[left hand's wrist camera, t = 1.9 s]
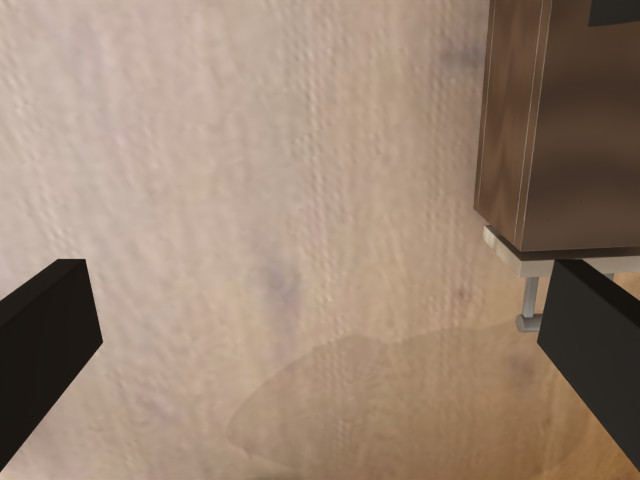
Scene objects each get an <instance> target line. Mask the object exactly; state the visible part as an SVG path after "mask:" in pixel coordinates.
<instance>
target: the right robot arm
mask: <svg viewBox="0 0 640 480" xmlns="http://www.w3.org/2000/svg"><path fill="white" fill-rule="evenodd" d="M637 21H640V0H592V3H591V9H590V16H589V22H588V27H593V26H609V25H616V24H623V23H630V22H637Z"/></svg>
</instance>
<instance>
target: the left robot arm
mask: <svg viewBox="0 0 640 480" xmlns="http://www.w3.org/2000/svg"><path fill="white" fill-rule="evenodd" d="M102 343H103V339H102V335H101V330H100V325H99V321H98V316H97V311H96V307H95V302H94V297H93V293H92V288H91V283H90V279H89V274H88V269H87V265H86V260H85V259H57V260H56V261H55V262H53V263H52V264H50V265H49V266H48V267H46V268H45V269H44V270H42V271H41V272H39V273H38V274H37V275H35V276H34V277H33V278H31V279H30V280H28V281H27V282H26V283H24V284H23V285H22V286H20V287H19V288H17V289H16V290H15V291H13V292H12V293H11V294H9V295H8V296H6V297H5V298H4V299H2V300H1V301H0V472H1V471H2V470H3V468H4V467H5V466H6V464H7V463H8V462H9V461H10V459H11V458H12V457H13V456H14V454H15V453H16V452H17V451H18V449H19V448H20V447H21V446H22V444H23V443H24V442H25V440H26V439H27V438H28V437H29V435H30V434H31V433H32V432H33V430H34V429H35V428H36V427H37V425H38V424H39V423H40V422H41V420H42V419H43V418H44V416H45V415H46V414H47V413H48V411H49V410H50V409H51V408H52V406H53V405H54V404H55V403H56V401H57V400H58V399H59V398H60V396H61V395H62V394H63V392H64V391H65V390H66V389H67V387H68V386H69V385H70V384H71V382H72V381H73V380H74V379H75V377H76V376H77V375H78V374H79V372H80V371H81V370H82V368H83V367H84V366H85V365H86V363H87V362H88V361H89V360H90V358H91V357H92V356H93V355H94V353H95V352H96V351H97V350H98V348H99V347H100V346H101V344H102ZM537 343H538V344H539V346H540V347H541V348H542V350H543V351H544V352H545V353H546V355H547V356H548V357H549V358H550V360H551V361H552V362H553V363H554V365H555V366H556V367H557V368H558V370H559V371H560V372H561V374H562V375H563V376H564V377H565V379H566V380H567V381H568V382H569V384H570V385H571V386H572V387H573V389H574V390H575V391H576V392H577V394H578V395H579V396H580V398H581V399H582V400H583V401H584V403H585V404H586V405H587V406H588V408H589V409H590V410H591V411H592V413H593V414H594V415H595V416H596V418H597V419H598V420H599V422H600V423H601V424H602V425H603V427H604V428H605V429H606V430H607V432H608V433H609V434H610V435H611V437H612V438H613V439H614V440H615V442H616V443H617V444H618V446H619V447H620V448H621V449H622V451H623V452H624V453H625V454H626V456H627V457H628V458H629V459H630V461H631V462H632V463H633V464H634V466H635V467H636V468H637V470H638V471H639V472H640V301H639V300H638V299H636V298H635V297H634V296H632V295H631V294H629V293H628V292H627V291H625V290H624V289H623V288H621V287H620V286H618V285H617V284H616V283H614V282H613V281H612V280H610V279H609V278H607V277H606V276H605V275H603V274H602V273H601V272H599V271H598V270H596V269H595V268H594V267H592V266H591V265H590V264H588V263H587V262H585V261H584V260H583V259H555V260H554V265H553V269H552V274H551V279H550V283H549V288H548V293H547V297H546V302H545V307H544V311H543V316H542V321H541V325H540V330H539V335H538V339H537Z"/></svg>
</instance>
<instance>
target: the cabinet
mask: <svg viewBox="0 0 640 480" xmlns="http://www.w3.org/2000/svg"><path fill="white" fill-rule="evenodd" d="M591 3H592V0H490V10H489V23H488V35H487V48H486V60H485V73H484V85H483V98H482V110H481V122H480V135H479V147H478V160H477V172H476V185H475V197H474V209H475V210H476V211H477V212H478V213H479V214H480V215H481V216H482V217H483V218H484V219H486V220H487V221H488V222H489V223H490V224H491V225H492V226H493V227H494V228H495V229H496V230H497V231H499V232H500V233H501V234H502V235H503V236H504V237H505V238H506V239H507V240H508V241H509V242H510V243H511V244H513V245H514V246H515V247H516V248H517V249H518V250H519V251H520V252H524V251H545V250H566V249H587V248H608V247H630V246H640V21H637V22H630V23H623V24H616V25H609V26H593V27H588V22H589V16H590V9H591Z"/></svg>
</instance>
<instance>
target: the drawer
mask: <svg viewBox="0 0 640 480" xmlns="http://www.w3.org/2000/svg"><path fill="white" fill-rule="evenodd" d="M483 240H484V241H485V242H486V243H487V244H488V245H489V246H490V247H491V248H492V249H493V250H494V252H495V253H496V254H497V255H498V256H499V257H500V258H501V259H502V260H503V261H504V262H505V263H506V264H507V265H508V266H509V267H510V269H511V270H512V271H513V272H514V273H515V274H516V275H517V276H518V277H527V278H526V286H525V293H524V300H523V308H522V314H520V315H517V317H516V326H517V329H518V331H519V332H539V330H540V325H541V321H542V316H543V314H533V313H534V306H535V300H536V293H537V286H538V279H539V277H540V276H551V274H552V269H553V265H554V260H555V259H583V260H584V261H585V262H587V263H588V264H590V265H591V266H592V267H594V268H595V269H596V270H598V271H599V272H601V273H602V274H603V275H605V276H606V277H607V278H609V279H610V280H613V276H614V273H627V272H640V246H630V247H608V248H587V249H566V250H545V251H524V252H520V251H519V250H518V249H517V248H516V247H515V246H514V245H513V244H511V243H510V242H509V241H508V240H507V239H506V238H505V237H504V236H503V235H502V234H501V233H500V232H499V231H497V230H496V229H495V228H494V227H493V226H492V225H485V226H484V232H483Z"/></svg>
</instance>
